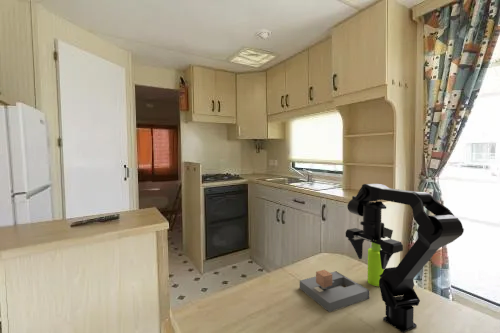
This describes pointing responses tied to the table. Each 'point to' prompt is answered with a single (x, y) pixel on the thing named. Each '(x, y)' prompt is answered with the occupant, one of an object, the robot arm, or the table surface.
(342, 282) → the keyhole plate
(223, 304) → the table surface
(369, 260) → the soap dispenser
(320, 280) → the key peg
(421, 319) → the table surface
